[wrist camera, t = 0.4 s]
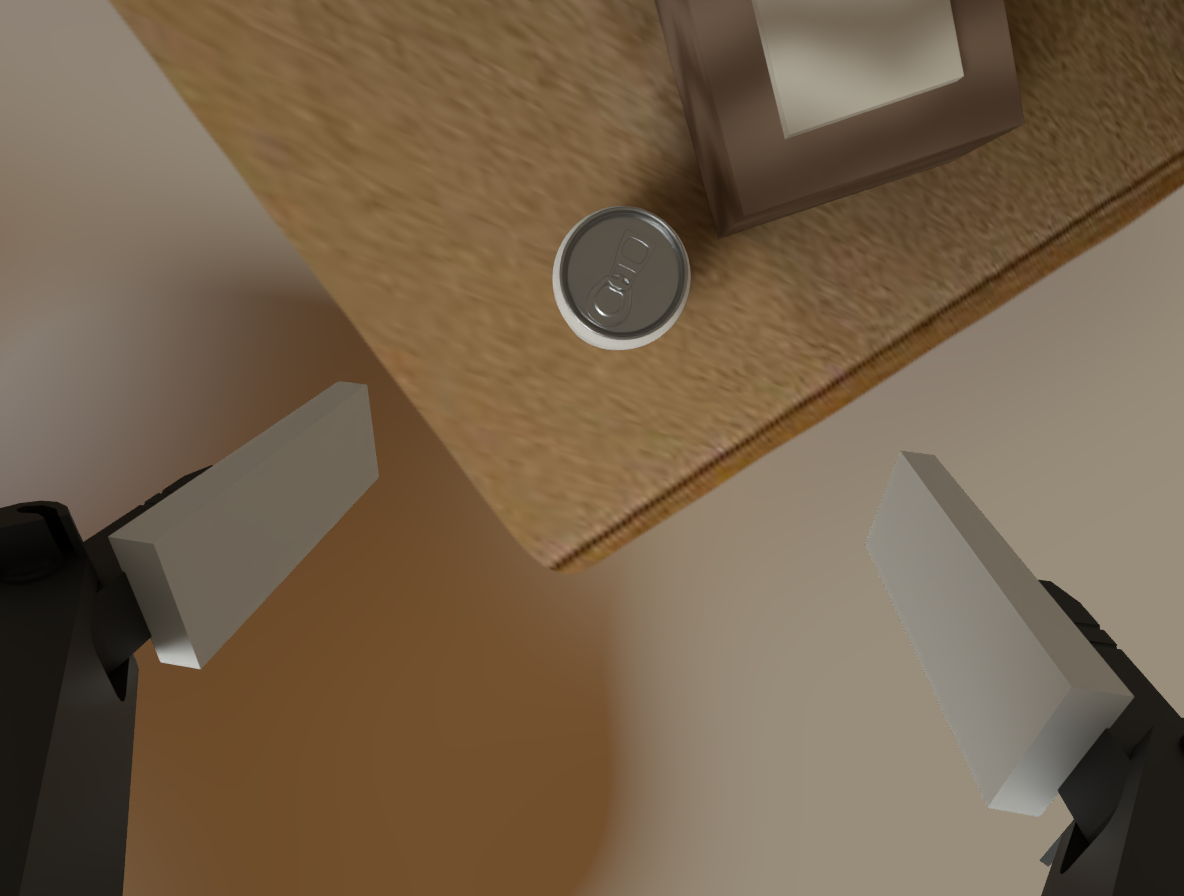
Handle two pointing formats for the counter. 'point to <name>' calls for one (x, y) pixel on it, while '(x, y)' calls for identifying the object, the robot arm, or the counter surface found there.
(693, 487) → the counter surface
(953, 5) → the riser
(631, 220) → the can
